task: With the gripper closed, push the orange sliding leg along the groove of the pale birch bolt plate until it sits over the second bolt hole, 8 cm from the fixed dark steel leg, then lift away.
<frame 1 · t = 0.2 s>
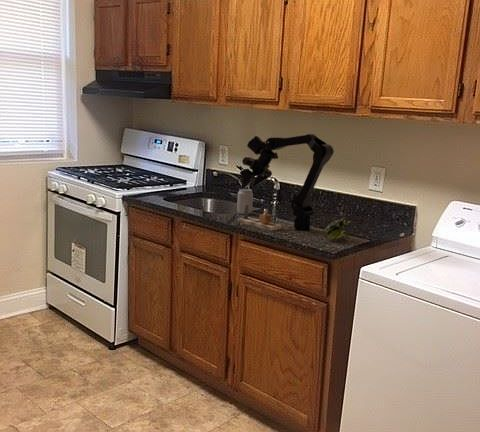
hand: (247, 187, 255), 15 cm above the counter, tool tilted 30°, fingers open, 9 cm apart
green leafy plant: (338, 240, 224), on the counter
can: (244, 213, 269), on the counter
bolt plate: (268, 227, 240), on the counter
divider leg: (265, 215, 241), point 5 cm above the counter, slide at 2.0 cm
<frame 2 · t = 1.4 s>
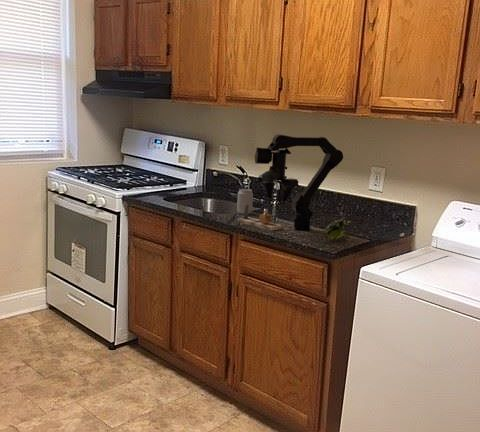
hand: (276, 200, 235), 13 cm above the counter, tool pointing down, fingers open, 8 cm apart
nothing on the counter moved.
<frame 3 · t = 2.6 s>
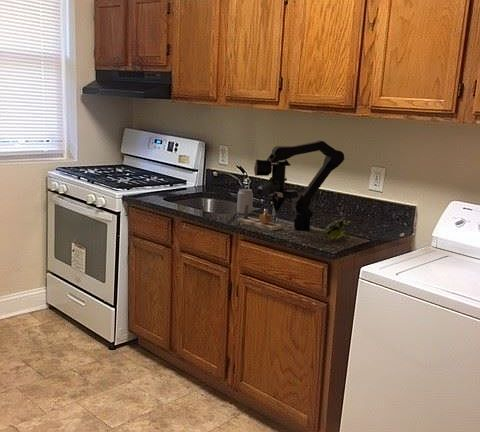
hand: (276, 211, 236), 8 cm above the counter, tool pointing down, fingers closed
nothing on the counter moved.
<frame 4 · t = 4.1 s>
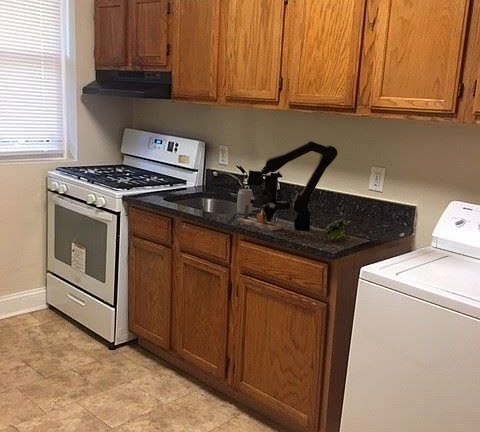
hand: (268, 221, 240), 3 cm above the counter, tool pointing down, fingers closed
divider leg: (262, 215, 242), point 5 cm above the counter, slide at 3.7 cm, touching gripper
everything else where it was.
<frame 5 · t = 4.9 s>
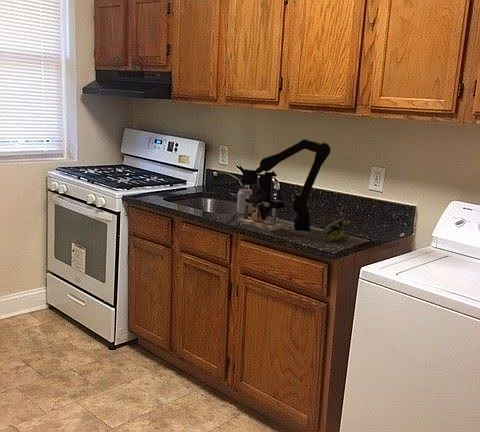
hand: (263, 220, 242), 3 cm above the counter, tool pointing down, fingers closed
divider leg: (257, 213, 244), point 5 cm above the counter, slide at 6.8 cm, touching gripper
everything else where it was.
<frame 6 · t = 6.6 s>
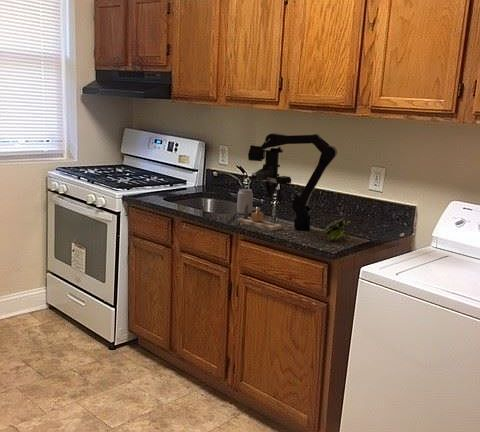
hand: (269, 197, 242), 13 cm above the counter, tool pointing down, fingers closed
divider leg: (257, 213, 244), point 5 cm above the counter, slide at 6.9 cm
everything else where it was.
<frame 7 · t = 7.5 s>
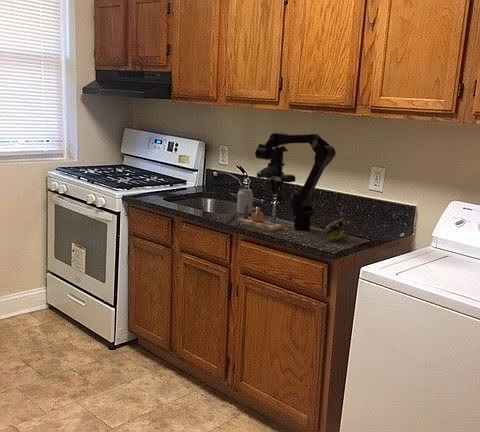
hand: (274, 195, 247), 13 cm above the counter, tool pointing down, fingers closed
nothing on the counter moved.
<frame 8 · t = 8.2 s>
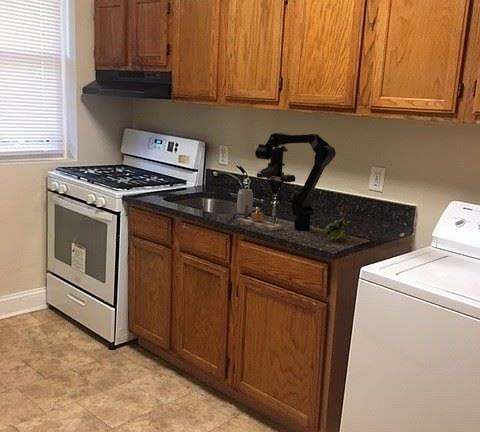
hand: (274, 195, 247), 13 cm above the counter, tool pointing down, fingers closed
nothing on the counter moved.
at the end: divider leg slide at 6.9 cm; can moved 0.2 cm from its start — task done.
